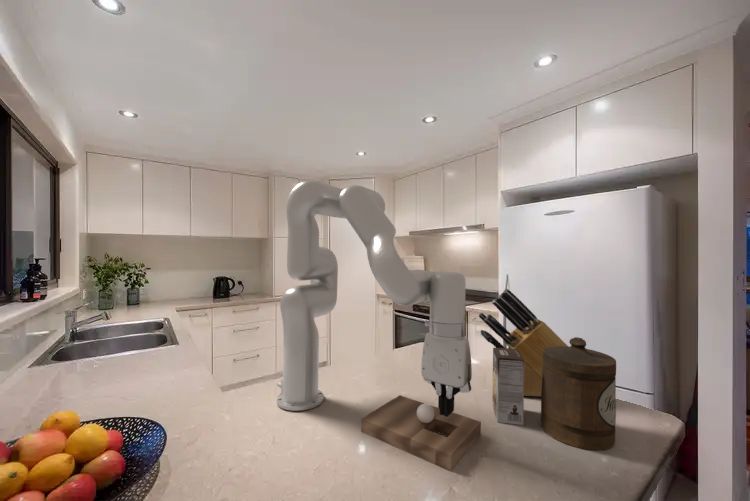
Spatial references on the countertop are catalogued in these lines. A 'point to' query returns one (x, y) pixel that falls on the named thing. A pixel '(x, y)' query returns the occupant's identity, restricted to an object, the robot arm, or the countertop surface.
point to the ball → (425, 413)
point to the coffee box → (508, 385)
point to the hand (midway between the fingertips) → (446, 413)
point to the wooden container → (579, 396)
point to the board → (422, 431)
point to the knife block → (522, 338)
